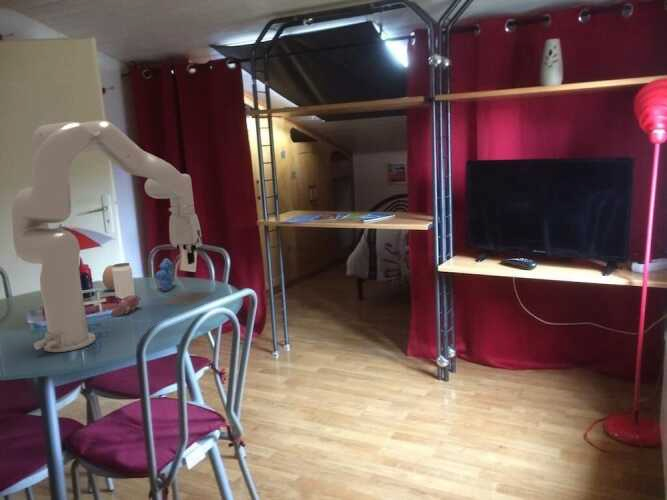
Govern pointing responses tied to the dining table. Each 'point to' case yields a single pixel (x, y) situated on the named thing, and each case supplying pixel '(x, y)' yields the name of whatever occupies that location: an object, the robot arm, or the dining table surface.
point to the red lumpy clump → (126, 305)
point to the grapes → (165, 274)
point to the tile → (184, 261)
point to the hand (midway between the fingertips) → (189, 263)
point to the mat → (186, 298)
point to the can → (123, 280)
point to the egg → (108, 278)
